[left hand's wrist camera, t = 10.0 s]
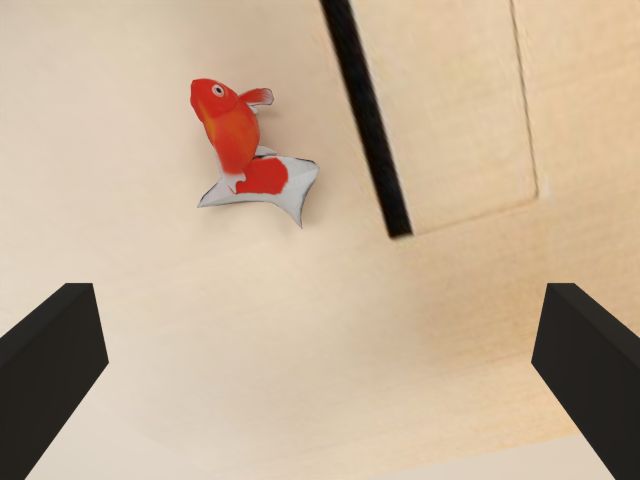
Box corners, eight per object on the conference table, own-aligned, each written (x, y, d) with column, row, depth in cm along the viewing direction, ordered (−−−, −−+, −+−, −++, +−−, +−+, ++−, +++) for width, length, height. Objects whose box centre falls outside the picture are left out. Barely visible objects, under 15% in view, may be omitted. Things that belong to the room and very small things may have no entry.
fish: (308, 39, 35) (268, 111, 28) (344, 188, 46) (321, 263, 40) (192, 53, 38) (134, 119, 32) (252, 188, 49) (217, 257, 43)
